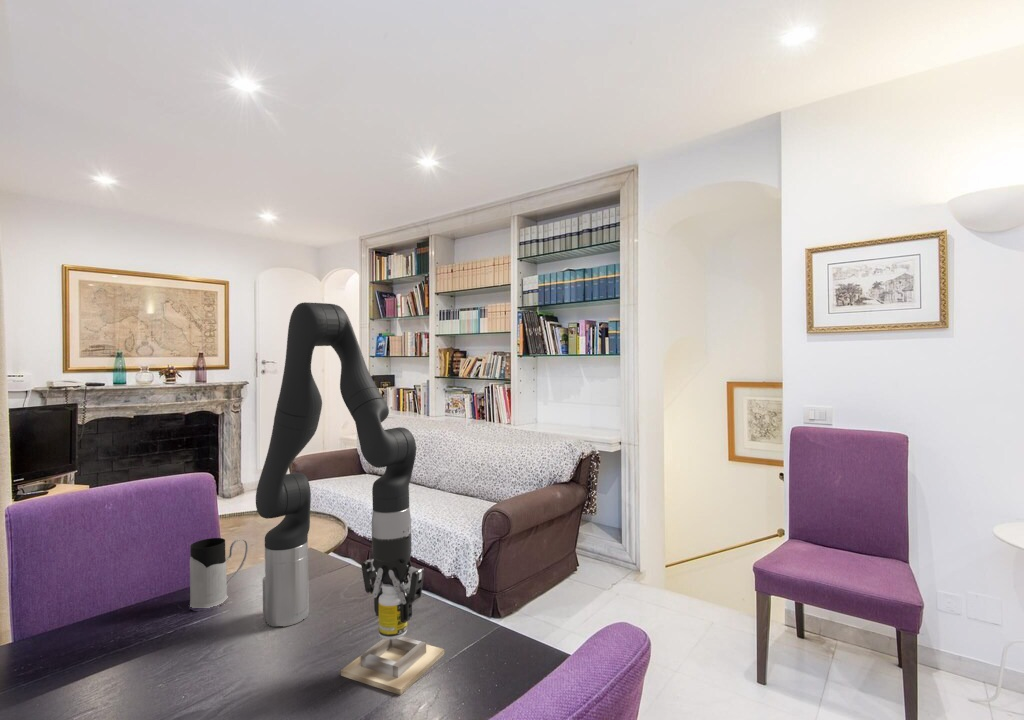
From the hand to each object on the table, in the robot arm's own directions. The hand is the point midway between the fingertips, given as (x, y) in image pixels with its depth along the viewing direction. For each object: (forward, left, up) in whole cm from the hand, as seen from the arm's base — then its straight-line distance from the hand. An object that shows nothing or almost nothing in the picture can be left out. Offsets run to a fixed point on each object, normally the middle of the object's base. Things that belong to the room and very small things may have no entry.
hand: (393, 617), depth 100 cm
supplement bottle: (0, 0, -3) cm, 3 cm away
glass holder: (-59, +5, -9) cm, 60 cm away
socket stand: (0, 0, -9) cm, 9 cm away
